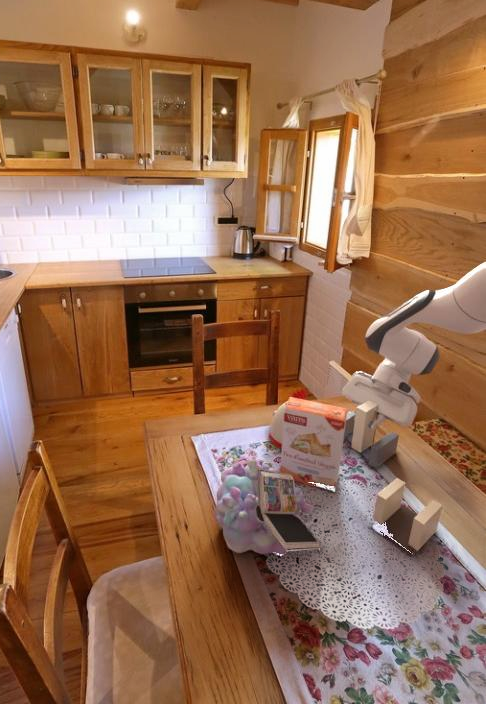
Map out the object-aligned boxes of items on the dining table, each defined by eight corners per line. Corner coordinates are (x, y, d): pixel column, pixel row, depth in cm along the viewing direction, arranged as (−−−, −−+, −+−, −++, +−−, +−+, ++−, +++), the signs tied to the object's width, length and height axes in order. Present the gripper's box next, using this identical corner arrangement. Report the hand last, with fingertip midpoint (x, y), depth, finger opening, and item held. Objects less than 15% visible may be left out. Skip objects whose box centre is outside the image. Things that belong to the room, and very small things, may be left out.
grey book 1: (355, 430, 121) (357, 413, 119) (334, 443, 115) (336, 426, 113) (349, 427, 123) (351, 410, 121) (328, 440, 117) (330, 422, 115)
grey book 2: (395, 453, 112) (399, 435, 110) (375, 468, 106) (378, 449, 104) (388, 449, 113) (392, 431, 111) (368, 464, 107) (371, 445, 105)
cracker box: (278, 478, 102) (283, 407, 95) (284, 463, 108) (289, 395, 100) (335, 494, 98) (345, 420, 90) (338, 477, 103) (348, 406, 95)
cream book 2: (436, 530, 86) (443, 505, 84) (417, 551, 81) (423, 524, 79) (427, 524, 88) (433, 499, 85) (408, 544, 83) (413, 518, 80)
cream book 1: (400, 507, 92) (405, 482, 90) (381, 525, 87) (385, 499, 85) (392, 501, 93) (397, 477, 91) (372, 519, 89) (377, 494, 86)
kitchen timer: (327, 438, 118) (332, 393, 113) (296, 458, 109) (300, 411, 104) (290, 417, 128) (293, 375, 123) (259, 434, 119) (261, 390, 114)
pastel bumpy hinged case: (217, 469, 99) (211, 441, 85) (306, 468, 98) (315, 440, 84) (215, 565, 86) (208, 551, 72) (317, 566, 85) (330, 552, 71)
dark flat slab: (435, 531, 88) (436, 526, 87) (411, 557, 82) (412, 552, 81) (395, 506, 94) (396, 501, 94) (371, 528, 88) (372, 523, 88)
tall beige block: (373, 443, 115) (379, 404, 110) (360, 452, 111) (366, 412, 107) (364, 438, 117) (369, 399, 113) (350, 447, 114) (356, 407, 109)
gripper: (352, 364, 119) (328, 404, 117) (421, 392, 104) (395, 439, 102) (359, 373, 123) (336, 412, 121) (426, 401, 108) (401, 446, 106)
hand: (363, 424), depth 111 cm, fingers closed on tall beige block, 3 cm apart
